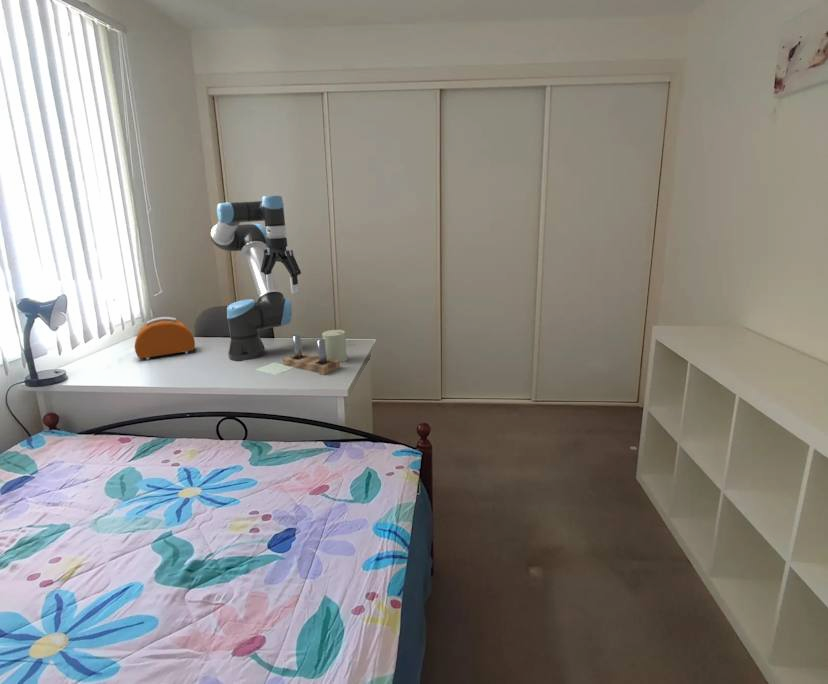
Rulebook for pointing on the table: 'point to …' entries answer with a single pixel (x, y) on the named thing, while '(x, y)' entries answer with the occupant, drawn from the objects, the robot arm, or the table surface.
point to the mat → (274, 368)
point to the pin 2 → (321, 351)
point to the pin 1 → (297, 347)
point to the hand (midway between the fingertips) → (282, 291)
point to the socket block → (312, 364)
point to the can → (335, 344)
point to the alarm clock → (163, 338)
